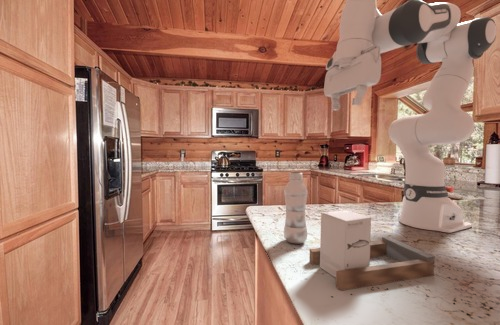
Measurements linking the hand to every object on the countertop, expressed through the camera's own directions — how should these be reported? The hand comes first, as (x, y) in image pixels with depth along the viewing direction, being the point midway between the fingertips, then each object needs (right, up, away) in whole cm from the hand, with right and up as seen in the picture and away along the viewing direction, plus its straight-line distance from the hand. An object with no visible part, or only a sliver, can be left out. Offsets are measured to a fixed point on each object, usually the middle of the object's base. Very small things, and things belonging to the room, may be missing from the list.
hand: (345, 107), depth 66 cm
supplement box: (-6, -39, -14) cm, 42 cm away
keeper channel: (0, -39, -13) cm, 41 cm away
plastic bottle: (-13, -38, +2) cm, 40 cm away
